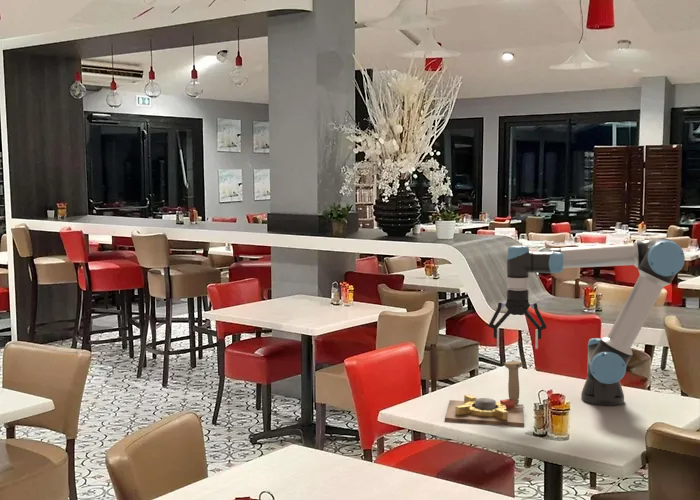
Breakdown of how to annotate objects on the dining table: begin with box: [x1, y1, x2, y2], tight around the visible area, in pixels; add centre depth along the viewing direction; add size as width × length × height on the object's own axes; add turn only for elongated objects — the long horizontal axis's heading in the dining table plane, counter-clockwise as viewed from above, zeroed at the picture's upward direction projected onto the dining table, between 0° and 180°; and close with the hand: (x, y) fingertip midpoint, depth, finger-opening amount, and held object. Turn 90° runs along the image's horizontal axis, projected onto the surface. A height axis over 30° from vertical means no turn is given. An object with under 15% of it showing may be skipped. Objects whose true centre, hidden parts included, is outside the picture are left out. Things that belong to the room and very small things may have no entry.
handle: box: [504, 360, 523, 404], centre depth 293 cm, size 5×6×15 cm
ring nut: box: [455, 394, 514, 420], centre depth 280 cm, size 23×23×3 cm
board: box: [444, 397, 525, 428], centre depth 280 cm, size 26×22×5 cm
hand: (517, 347), depth 292 cm, fingers open, 13 cm apart
